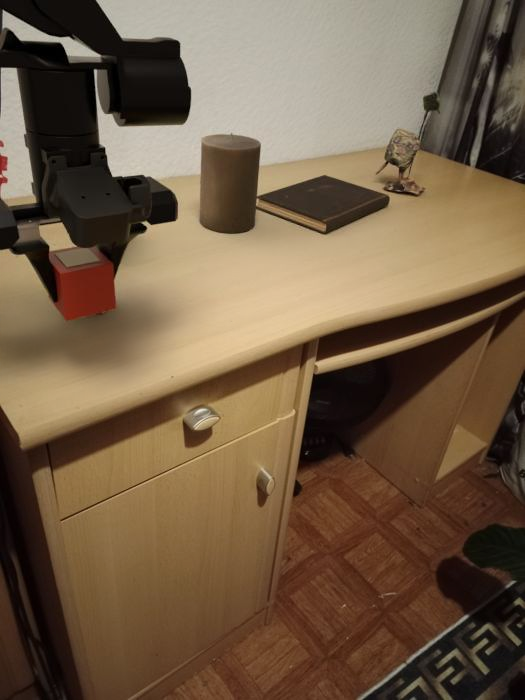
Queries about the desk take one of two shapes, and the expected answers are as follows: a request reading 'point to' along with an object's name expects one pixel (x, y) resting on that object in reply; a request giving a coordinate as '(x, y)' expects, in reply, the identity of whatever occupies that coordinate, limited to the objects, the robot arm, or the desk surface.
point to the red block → (82, 282)
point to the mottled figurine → (407, 150)
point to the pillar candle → (229, 182)
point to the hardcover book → (322, 203)
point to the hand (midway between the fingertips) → (81, 294)
